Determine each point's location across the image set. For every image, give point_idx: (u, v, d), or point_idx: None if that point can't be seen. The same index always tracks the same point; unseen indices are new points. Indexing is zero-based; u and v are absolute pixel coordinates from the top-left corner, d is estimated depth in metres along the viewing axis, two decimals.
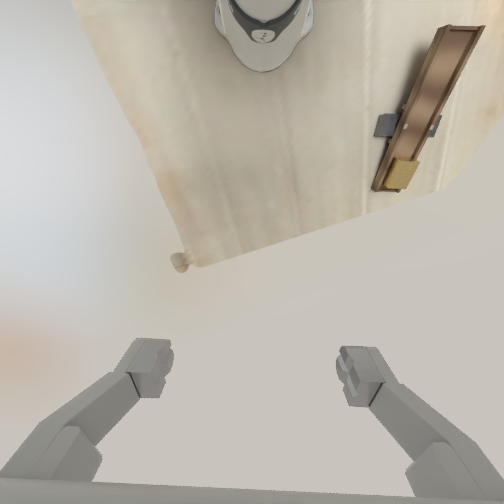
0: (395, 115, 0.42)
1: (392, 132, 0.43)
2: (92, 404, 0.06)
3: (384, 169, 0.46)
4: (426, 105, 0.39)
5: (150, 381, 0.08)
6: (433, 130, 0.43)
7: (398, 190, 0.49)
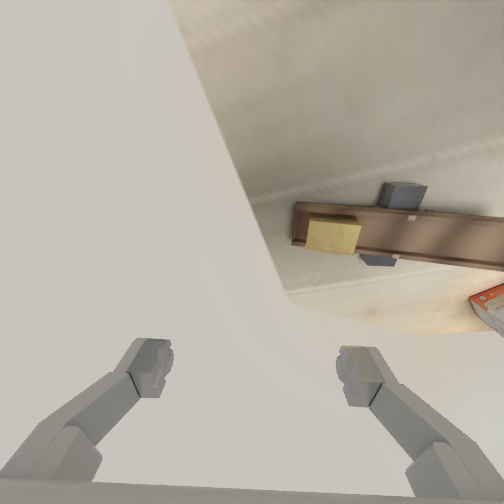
0: (418, 203, 0.26)
1: (393, 206, 0.26)
2: (91, 404, 0.06)
3: (336, 209, 0.26)
4: (429, 240, 0.26)
5: (150, 381, 0.08)
6: (377, 262, 0.30)
7: (295, 242, 0.29)
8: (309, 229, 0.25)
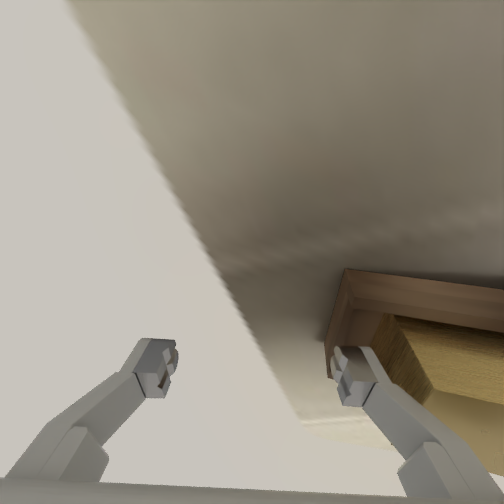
0: None
1: None
2: (98, 404, 0.06)
3: (496, 315, 0.08)
4: None
5: (156, 381, 0.08)
6: None
7: None
8: None
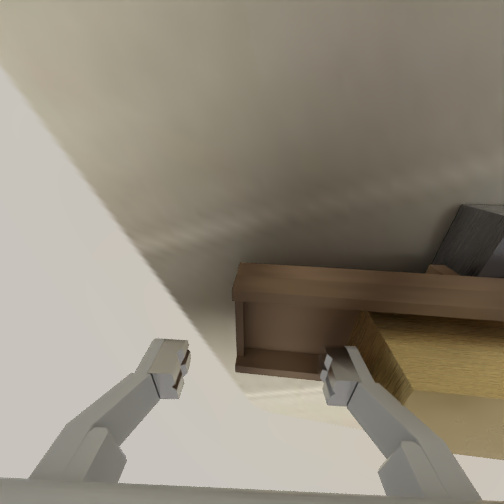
0: None
1: (494, 271, 0.10)
2: (117, 404, 0.06)
3: (355, 295, 0.08)
4: None
5: (171, 381, 0.08)
6: None
7: (244, 368, 0.11)
8: None
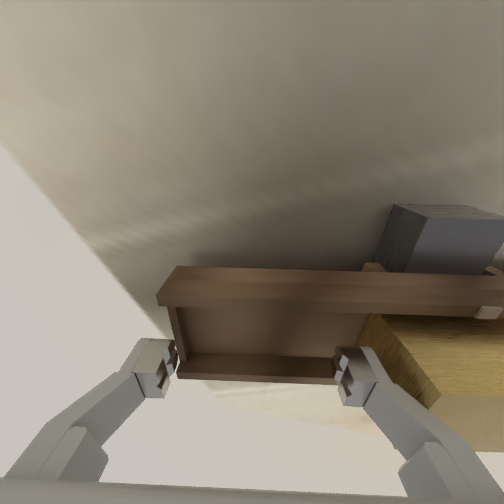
0: (484, 261, 0.10)
1: (418, 267, 0.10)
2: (98, 404, 0.06)
3: (280, 295, 0.08)
4: None
5: (156, 381, 0.08)
6: None
7: (186, 374, 0.11)
8: None
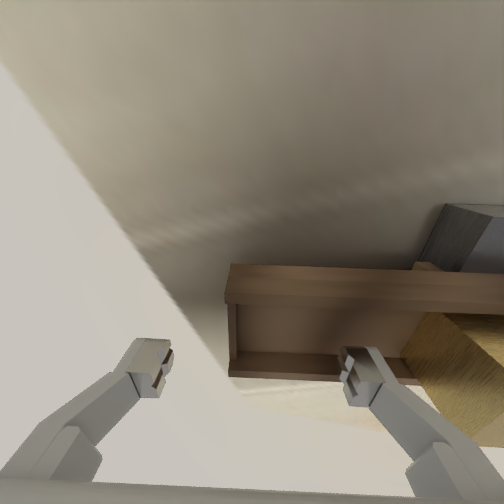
0: None
1: (474, 266, 0.10)
2: (91, 404, 0.06)
3: (348, 293, 0.08)
4: None
5: (150, 380, 0.08)
6: None
7: (237, 372, 0.11)
8: None
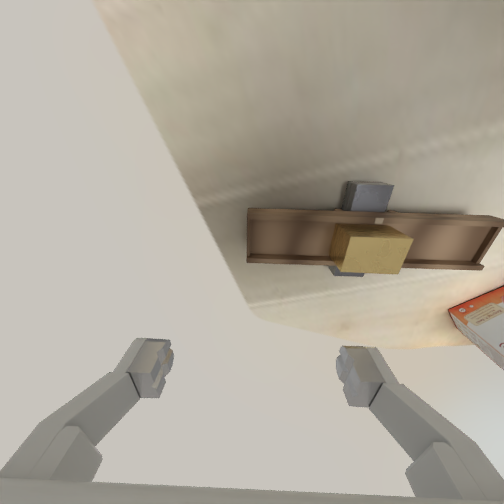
0: (384, 205, 0.22)
1: (356, 208, 0.23)
2: (91, 404, 0.06)
3: (296, 214, 0.21)
4: None
5: (150, 381, 0.08)
6: (344, 272, 0.27)
7: (250, 259, 0.23)
8: (349, 247, 0.19)
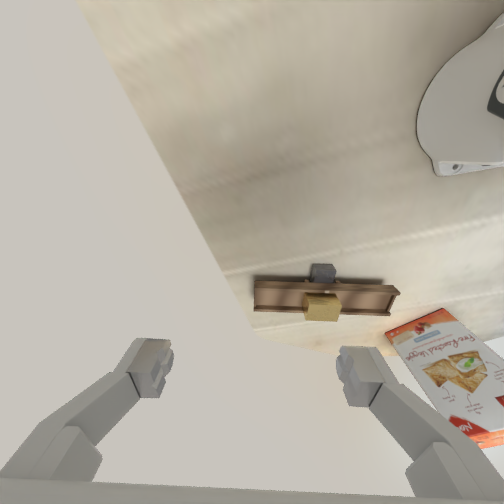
0: (332, 279, 0.39)
1: (316, 281, 0.40)
2: (92, 404, 0.06)
3: (281, 288, 0.38)
4: (339, 300, 0.40)
5: (150, 380, 0.08)
6: None
7: (256, 309, 0.40)
8: (308, 309, 0.36)
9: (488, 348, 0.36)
